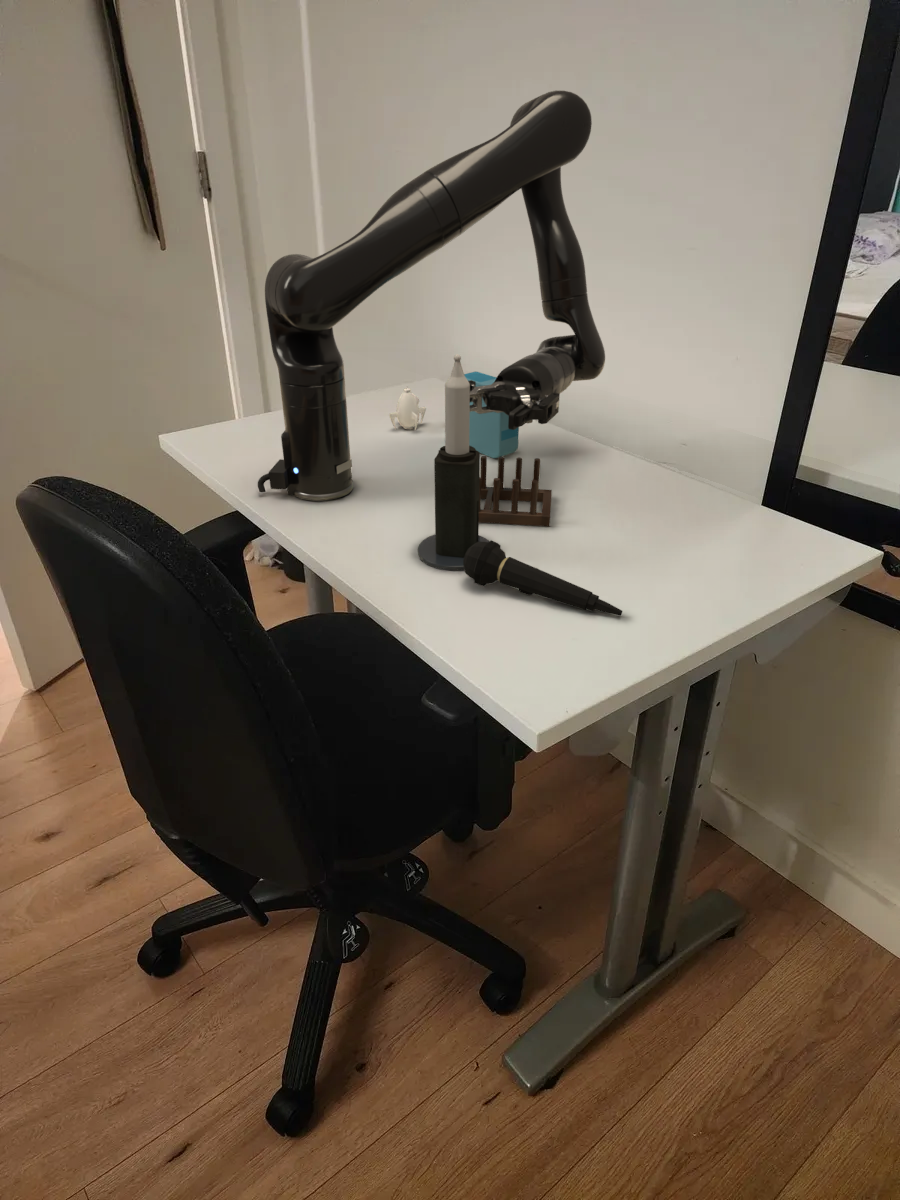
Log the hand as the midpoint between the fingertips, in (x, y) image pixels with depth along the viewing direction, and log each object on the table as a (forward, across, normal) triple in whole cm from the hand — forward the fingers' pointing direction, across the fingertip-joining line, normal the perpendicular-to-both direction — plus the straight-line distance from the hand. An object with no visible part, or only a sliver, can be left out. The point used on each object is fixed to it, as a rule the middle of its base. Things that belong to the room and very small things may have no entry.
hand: (480, 417), depth 102 cm
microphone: (+13, +14, +16) cm, 25 cm away
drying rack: (-8, 0, +16) cm, 18 cm away
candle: (+7, 0, +16) cm, 17 cm away
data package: (-30, -13, +16) cm, 37 cm away
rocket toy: (-33, -31, +16) cm, 48 cm away
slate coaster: (+7, 0, +16) cm, 18 cm away
